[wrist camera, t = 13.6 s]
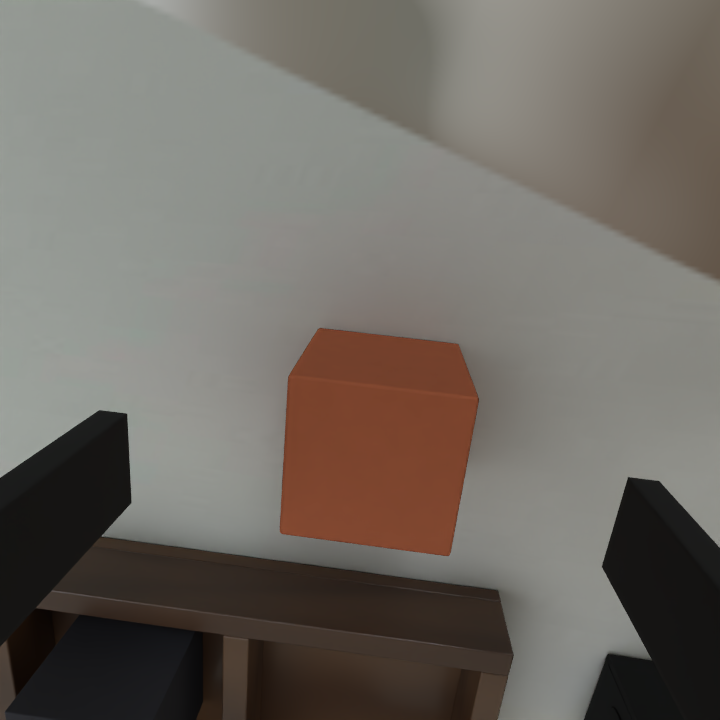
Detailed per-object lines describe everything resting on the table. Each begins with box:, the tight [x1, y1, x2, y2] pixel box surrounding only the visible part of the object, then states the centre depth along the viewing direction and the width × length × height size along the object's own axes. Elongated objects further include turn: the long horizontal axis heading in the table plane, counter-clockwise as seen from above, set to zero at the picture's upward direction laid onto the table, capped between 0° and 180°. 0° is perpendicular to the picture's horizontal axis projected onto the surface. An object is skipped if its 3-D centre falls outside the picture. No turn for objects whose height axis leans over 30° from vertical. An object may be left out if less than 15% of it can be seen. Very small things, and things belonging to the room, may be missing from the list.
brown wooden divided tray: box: [0, 537, 514, 720], centre depth 21 cm, size 10×20×3 cm, turn 85°
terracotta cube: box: [280, 328, 479, 556], centre depth 16 cm, size 5×5×5 cm
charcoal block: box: [5, 615, 203, 720], centre depth 20 cm, size 5×5×5 cm
